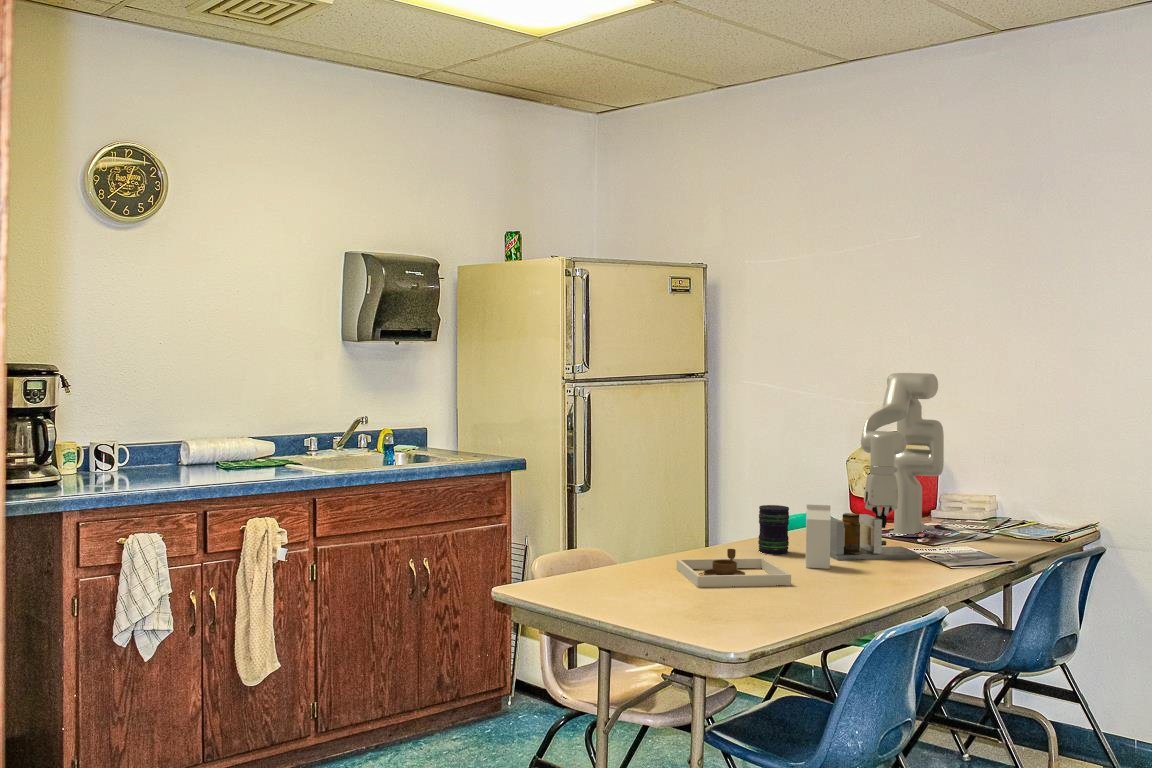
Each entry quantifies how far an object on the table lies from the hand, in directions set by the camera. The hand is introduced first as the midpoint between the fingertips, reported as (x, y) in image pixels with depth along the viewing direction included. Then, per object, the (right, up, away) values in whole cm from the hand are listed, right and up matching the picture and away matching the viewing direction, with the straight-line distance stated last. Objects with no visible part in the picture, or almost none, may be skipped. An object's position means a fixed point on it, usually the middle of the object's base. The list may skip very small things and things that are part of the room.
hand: (881, 527), depth 344 cm
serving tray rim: (-54, -10, -37) cm, 66 cm away
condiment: (-10, -8, -1) cm, 13 cm away
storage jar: (-34, -9, +4) cm, 36 cm away
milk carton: (-25, -10, -19) cm, 33 cm away
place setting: (-54, -10, -37) cm, 66 cm away
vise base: (-4, -9, 0) cm, 10 cm away
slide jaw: (-2, -7, 0) cm, 8 cm away
